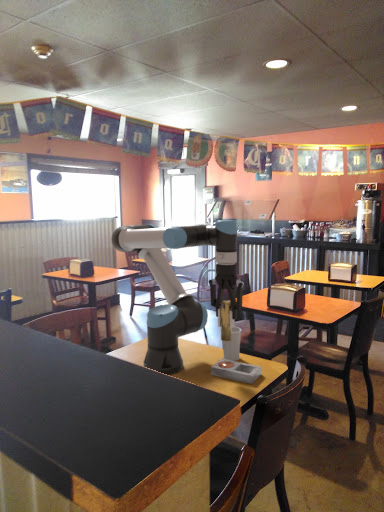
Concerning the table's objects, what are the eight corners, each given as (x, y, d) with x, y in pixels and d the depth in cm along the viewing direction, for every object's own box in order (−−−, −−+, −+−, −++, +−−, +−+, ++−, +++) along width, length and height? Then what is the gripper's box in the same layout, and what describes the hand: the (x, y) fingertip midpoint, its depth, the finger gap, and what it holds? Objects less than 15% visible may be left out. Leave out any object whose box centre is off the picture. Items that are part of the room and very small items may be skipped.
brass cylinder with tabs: (225, 335, 148) (225, 299, 146) (234, 337, 146) (234, 300, 144) (217, 341, 142) (217, 303, 140) (227, 342, 140) (227, 304, 138)
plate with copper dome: (210, 374, 144) (210, 366, 144) (221, 365, 152) (221, 358, 151) (251, 384, 136) (252, 375, 136) (261, 374, 144) (261, 366, 143)
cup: (240, 362, 155) (240, 333, 153) (220, 361, 156) (220, 332, 155) (242, 355, 162) (242, 326, 161) (222, 353, 164) (222, 326, 162)
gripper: (200, 263, 142) (200, 326, 145) (244, 266, 133) (244, 333, 136) (210, 260, 148) (210, 320, 151) (252, 263, 139) (252, 327, 142)
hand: (226, 326), depth 143 cm, fingers closed on brass cylinder with tabs, 4 cm apart
